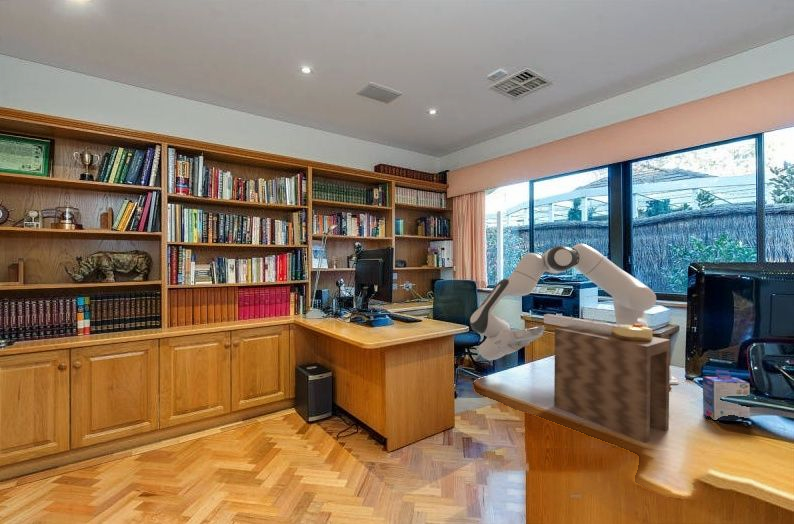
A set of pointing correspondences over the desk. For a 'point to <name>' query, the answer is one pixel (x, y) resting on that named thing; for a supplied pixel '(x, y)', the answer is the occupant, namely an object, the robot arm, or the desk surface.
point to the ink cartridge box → (724, 388)
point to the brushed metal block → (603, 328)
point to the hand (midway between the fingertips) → (535, 329)
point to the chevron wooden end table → (613, 380)
